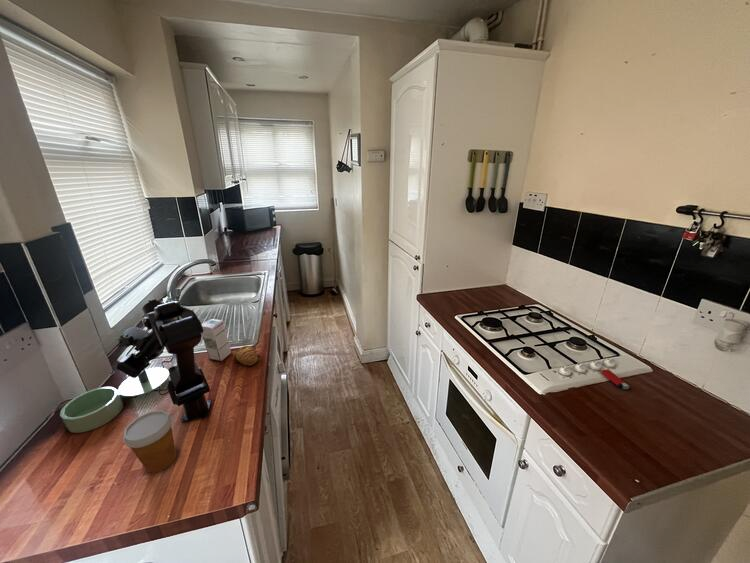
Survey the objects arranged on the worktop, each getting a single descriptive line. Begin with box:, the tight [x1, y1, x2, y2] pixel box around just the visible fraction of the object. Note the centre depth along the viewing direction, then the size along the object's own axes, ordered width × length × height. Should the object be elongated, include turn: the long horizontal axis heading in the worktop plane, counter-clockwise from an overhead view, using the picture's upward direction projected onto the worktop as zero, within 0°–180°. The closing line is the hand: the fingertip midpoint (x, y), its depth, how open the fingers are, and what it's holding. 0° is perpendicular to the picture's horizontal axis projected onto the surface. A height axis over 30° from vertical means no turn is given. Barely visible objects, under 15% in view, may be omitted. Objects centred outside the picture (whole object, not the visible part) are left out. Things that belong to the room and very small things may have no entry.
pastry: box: [235, 345, 259, 366], centre depth 112 cm, size 9×7×4 cm
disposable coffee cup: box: [122, 410, 177, 474], centre depth 73 cm, size 10×10×12 cm
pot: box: [59, 386, 124, 434], centre depth 89 cm, size 13×13×5 cm
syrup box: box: [201, 318, 232, 362], centre depth 113 cm, size 6×6×14 cm
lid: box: [117, 367, 169, 398], centre depth 98 cm, size 14×14×9 cm
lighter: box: [600, 368, 630, 390], centre depth 98 cm, size 3×1×8 cm
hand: (135, 368), depth 98 cm, fingers closed on lid, 2 cm apart
